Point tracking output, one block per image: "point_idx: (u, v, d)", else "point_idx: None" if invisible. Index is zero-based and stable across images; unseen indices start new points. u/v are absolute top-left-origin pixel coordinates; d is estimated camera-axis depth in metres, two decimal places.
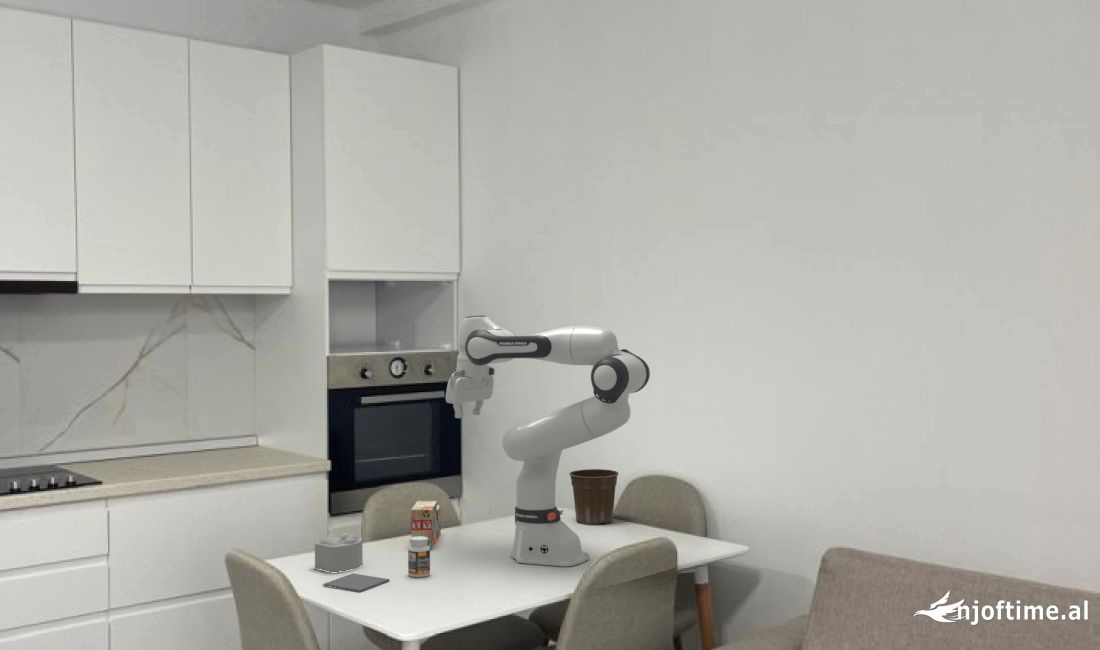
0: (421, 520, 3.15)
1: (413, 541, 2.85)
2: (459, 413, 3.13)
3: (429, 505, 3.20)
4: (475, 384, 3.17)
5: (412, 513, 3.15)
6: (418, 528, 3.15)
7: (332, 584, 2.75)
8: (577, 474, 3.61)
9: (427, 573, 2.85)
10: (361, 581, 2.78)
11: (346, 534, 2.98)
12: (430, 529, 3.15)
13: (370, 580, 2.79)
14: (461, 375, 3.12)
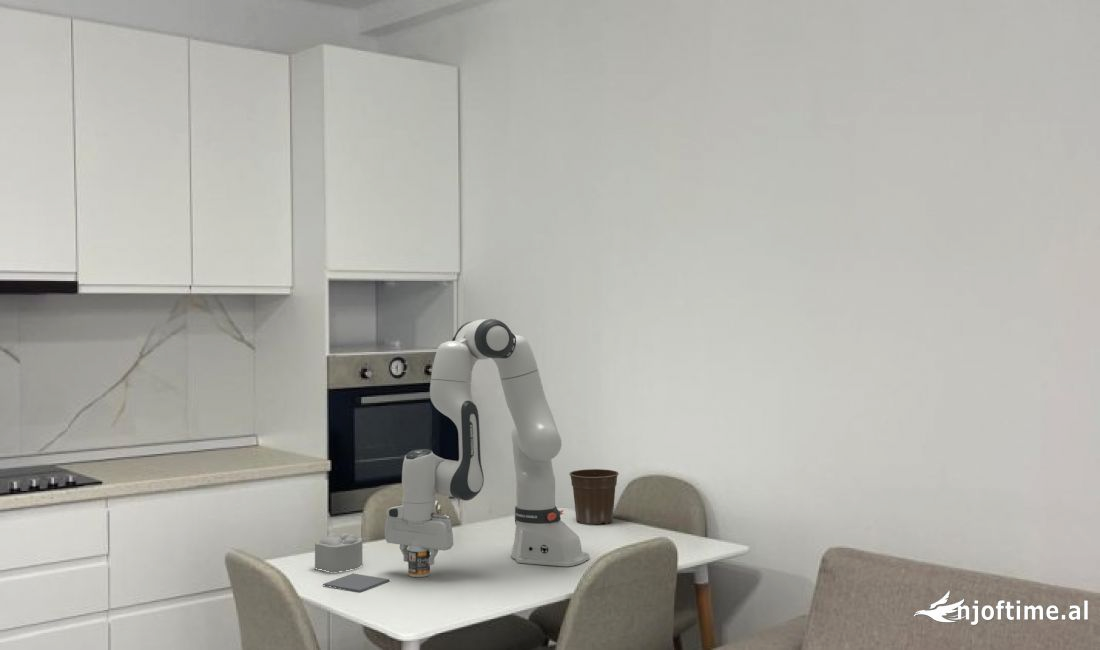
0: None
1: (413, 541, 2.85)
2: (433, 559, 2.85)
3: None
4: None
5: None
6: None
7: (332, 584, 2.75)
8: (577, 474, 3.61)
9: (427, 573, 2.85)
10: (361, 581, 2.78)
11: (346, 534, 2.98)
12: None
13: (370, 580, 2.79)
14: None
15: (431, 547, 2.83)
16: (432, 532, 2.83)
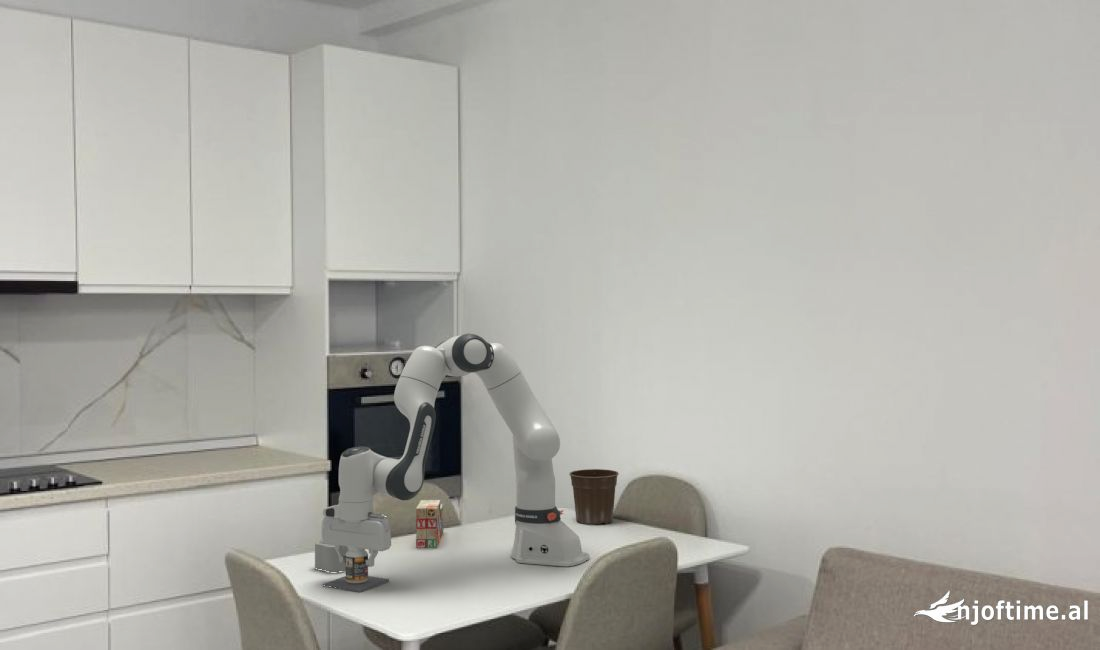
0: (426, 519, 3.17)
1: (350, 546, 2.76)
2: (373, 560, 2.76)
3: (433, 504, 3.22)
4: None
5: (417, 512, 3.17)
6: (423, 527, 3.17)
7: (332, 584, 2.75)
8: (577, 474, 3.61)
9: (365, 579, 2.77)
10: None
11: None
12: (435, 528, 3.17)
13: (370, 580, 2.79)
14: None
15: (368, 548, 2.74)
16: (369, 532, 2.74)
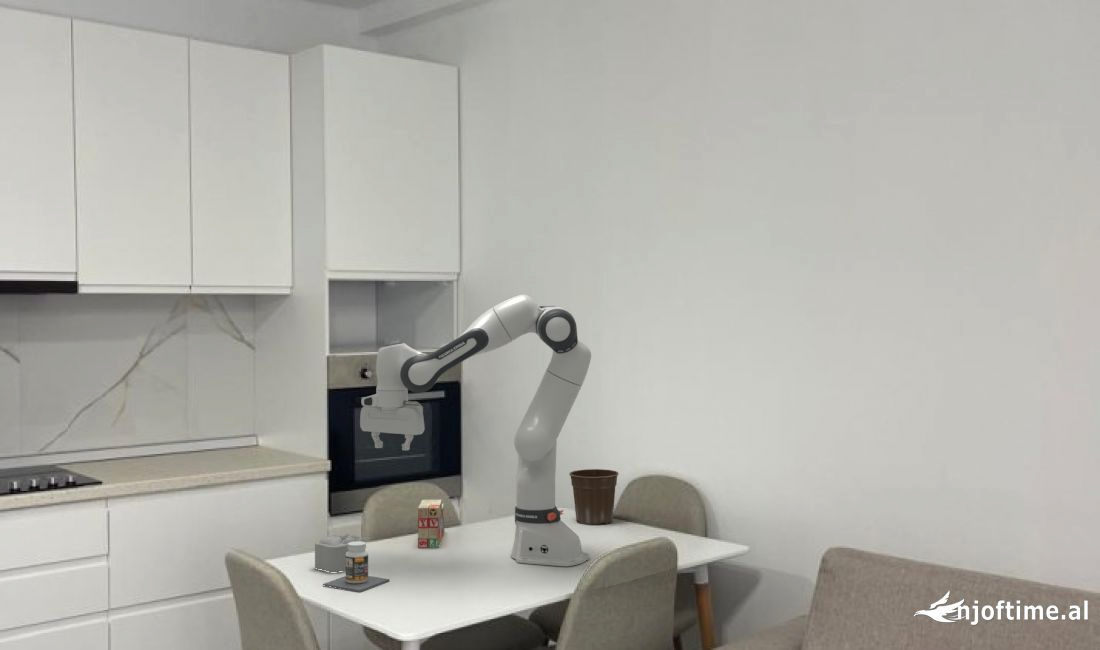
0: (428, 518, 3.18)
1: (350, 546, 2.76)
2: (409, 444, 3.02)
3: (435, 503, 3.22)
4: None
5: (419, 511, 3.18)
6: (425, 526, 3.18)
7: (332, 584, 2.75)
8: (577, 474, 3.61)
9: (365, 579, 2.77)
10: None
11: (346, 534, 2.98)
12: (437, 527, 3.18)
13: (370, 580, 2.79)
14: None
15: (403, 432, 3.00)
16: (404, 418, 3.00)
